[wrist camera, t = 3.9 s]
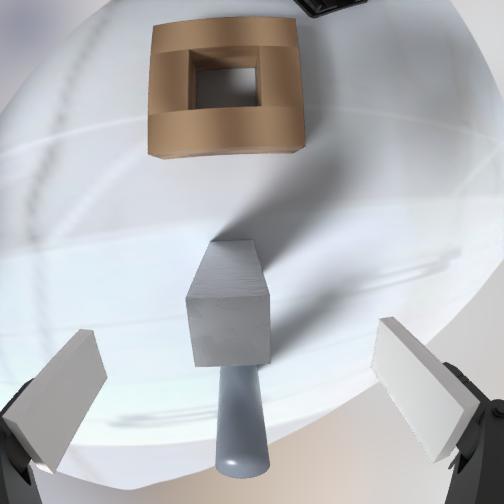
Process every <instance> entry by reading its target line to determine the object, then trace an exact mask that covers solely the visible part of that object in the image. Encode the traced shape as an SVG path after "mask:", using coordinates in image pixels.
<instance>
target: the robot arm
mask: <svg viewBox="0 0 504 504" xmlns="http://www.w3.org/2000/svg"><path fill="white" fill-rule="evenodd" d="M371 369H372V370H373V372H374V373H375V375H376V376H377V378H378V379H379V381H380V382H381V384H382V385H383V387H384V388H385V390H386V391H387V392H388V394H389V396H390V397H391V399H392V400H393V401H394V403H395V405H396V406H397V408H398V409H399V411H400V412H401V414H402V415H403V417H404V418H405V420H406V421H407V423H408V425H409V426H410V428H411V429H412V431H413V433H414V434H415V436H416V437H417V439H418V440H419V442H420V444H421V445H422V447H423V448H424V450H425V452H426V453H427V455H428V456H429V458H430V459H431V461H432V463H435V462H438V461H440V460H442V459H444V458H446V457H448V456H449V455H450V454H451V452H452V451H453V449H454V448H455V446H457V448H458V449H459V453H458V454H457V456H456V457H455V459H454V460H453V461H452V463H451V464H450V466H449V468H448V469H451V468H452V467H453V465H454V464H455V466H454V471H453V475H452V479H451V483H450V487H449V490H448V494H447V497H446V501H445V504H504V400H501V399H496V400H492V401H490V400H489V399H488V398H487V397H486V396H485V395H484V394H483V393H482V392H481V391H480V390H479V389H478V388H477V387H476V386H475V385H474V384H473V383H472V382H471V381H469V379H468V378H467V377H466V376H464V375H463V373H462V372H461V371H460V370H459V369H458V368H457V367H455V366H453V365H451V364H449V363H447V362H445V363H441V362H440V361H439V360H438V359H437V358H436V357H435V356H434V355H433V354H432V353H431V352H430V351H429V350H428V349H427V348H426V347H425V346H424V345H423V344H422V343H421V342H420V341H419V340H418V339H417V338H416V337H414V336H413V335H412V334H411V333H410V332H409V331H408V330H407V329H406V328H405V327H404V326H403V325H402V324H401V323H400V322H398V321H397V320H396V319H395V318H394V317H388V318H381V319H379V324H378V330H377V336H376V342H375V347H374V353H373V358H372V363H371ZM107 378H108V377H107V374H106V372H105V369H104V366H103V362H102V359H101V356H100V353H99V350H98V346H97V343H96V339H95V336H94V332H93V330H83V329H80V330H79V331H78V332H77V333H76V334H75V335H74V336H73V337H72V338H71V339H70V340H69V341H68V342H67V343H66V344H65V345H64V346H63V348H62V349H61V350H60V351H59V352H58V353H57V354H56V355H55V356H54V357H53V358H52V359H51V360H50V362H49V363H48V364H47V365H46V366H45V367H44V368H43V369H42V370H41V372H40V373H39V374H38V375H37V376H36V377H35V378H33V379H31V380H29V381H28V382H26V383H25V384H24V385H23V386H22V387H21V388H20V389H19V391H18V392H17V393H16V394H15V395H14V396H13V398H12V399H11V400H10V401H9V402H8V403H7V405H6V406H5V407H4V408H3V409H2V411H1V412H0V504H42V501H41V498H40V495H39V492H38V489H37V485H36V482H35V478H34V474H33V470H32V468H31V466H30V465H29V462H30V460H31V459H32V460H33V462H34V463H35V464H36V465H37V466H38V468H39V469H42V470H44V471H46V472H49V473H51V474H54V473H55V471H56V469H57V467H58V465H59V463H60V461H61V459H62V458H63V456H64V454H65V452H66V450H67V448H68V446H69V444H70V442H71V441H72V439H73V437H74V435H75V433H76V431H77V430H78V428H79V426H80V424H81V422H82V421H83V419H84V417H85V415H86V413H87V412H88V410H89V408H90V406H91V405H92V403H93V401H94V400H95V398H96V396H97V394H98V393H99V391H100V389H101V388H102V386H103V384H104V383H105V381H106V379H107Z"/></svg>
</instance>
